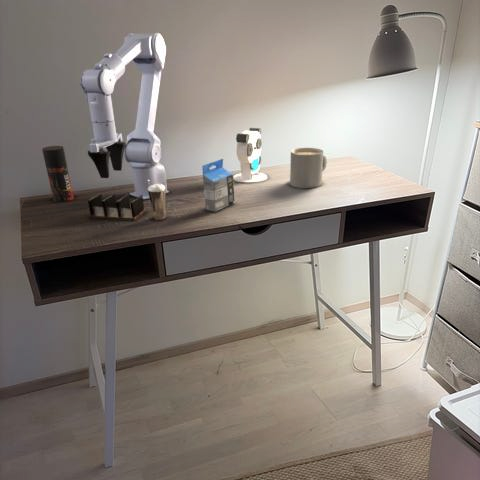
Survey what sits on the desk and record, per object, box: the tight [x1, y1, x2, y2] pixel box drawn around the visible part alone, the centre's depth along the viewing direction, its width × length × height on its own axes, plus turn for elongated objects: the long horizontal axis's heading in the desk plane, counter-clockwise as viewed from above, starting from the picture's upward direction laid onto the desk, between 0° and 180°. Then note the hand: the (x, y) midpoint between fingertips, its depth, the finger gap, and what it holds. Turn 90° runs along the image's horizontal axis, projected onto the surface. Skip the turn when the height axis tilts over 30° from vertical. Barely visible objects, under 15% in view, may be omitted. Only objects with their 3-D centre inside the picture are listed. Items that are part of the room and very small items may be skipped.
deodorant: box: [41, 145, 74, 203], centre depth 152 cm, size 6×6×15 cm
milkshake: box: [147, 179, 167, 221], centre depth 135 cm, size 4×5×10 cm
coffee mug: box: [289, 147, 328, 189], centre depth 160 cm, size 13×10×10 cm
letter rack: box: [87, 192, 146, 222], centre depth 139 cm, size 13×7×5 cm, turn 76°
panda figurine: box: [233, 127, 268, 184], centre depth 165 cm, size 12×11×15 cm
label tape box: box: [201, 158, 235, 213], centre depth 141 cm, size 9×4×12 cm, turn 143°
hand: (111, 173), depth 138 cm, fingers open, 7 cm apart
